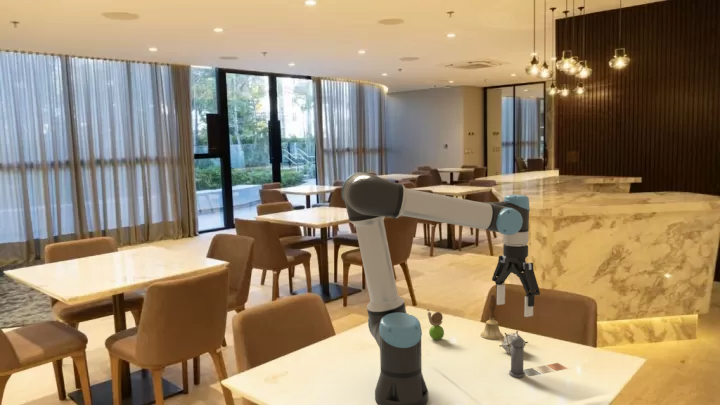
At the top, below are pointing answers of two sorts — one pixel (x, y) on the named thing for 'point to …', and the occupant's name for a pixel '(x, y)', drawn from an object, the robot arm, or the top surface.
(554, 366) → the track
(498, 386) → the top surface
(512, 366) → the pawn
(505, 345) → the game die
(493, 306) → the hand bell
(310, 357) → the top surface
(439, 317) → the snail figurine
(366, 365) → the top surface
